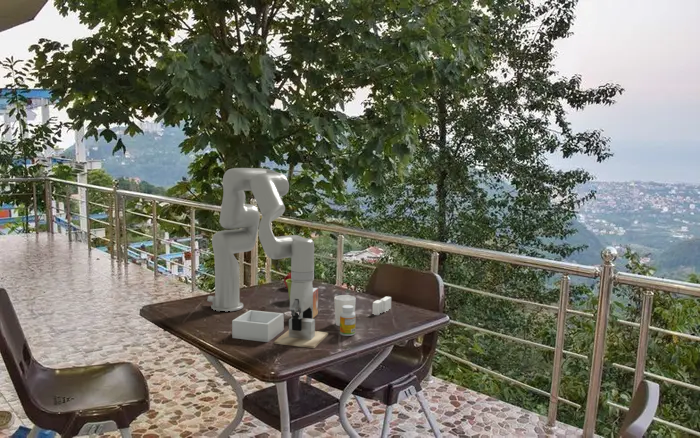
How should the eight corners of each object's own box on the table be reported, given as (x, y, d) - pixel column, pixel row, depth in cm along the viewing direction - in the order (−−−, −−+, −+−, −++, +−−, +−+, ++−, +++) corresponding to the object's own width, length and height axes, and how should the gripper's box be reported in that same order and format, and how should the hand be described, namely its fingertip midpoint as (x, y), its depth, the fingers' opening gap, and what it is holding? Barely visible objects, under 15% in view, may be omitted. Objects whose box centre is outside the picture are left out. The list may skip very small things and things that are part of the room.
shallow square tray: (232, 337, 171) (232, 320, 171) (250, 326, 184) (250, 310, 183) (267, 342, 168) (267, 324, 167) (283, 330, 180) (283, 313, 180)
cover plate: (274, 344, 167) (274, 323, 166) (290, 331, 180) (290, 311, 180) (314, 349, 163) (314, 327, 162) (328, 335, 176) (328, 315, 176)
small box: (312, 319, 193) (313, 292, 192) (298, 318, 194) (298, 291, 193) (318, 313, 201) (318, 287, 200) (304, 312, 202) (304, 286, 201)
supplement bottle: (339, 331, 180) (339, 304, 179) (354, 331, 180) (355, 304, 179) (340, 336, 175) (340, 308, 174) (355, 336, 175) (356, 308, 174)
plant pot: (295, 296, 226) (295, 277, 226) (311, 300, 221) (312, 280, 220) (281, 300, 219) (281, 280, 218) (297, 304, 213) (297, 284, 213)
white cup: (339, 328, 183) (340, 301, 182) (330, 322, 190) (330, 296, 189) (359, 325, 187) (359, 299, 185) (349, 319, 193) (349, 294, 192)
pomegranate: (307, 287, 245) (308, 268, 244) (300, 291, 236) (301, 271, 235) (288, 285, 247) (288, 266, 247) (280, 289, 238) (281, 270, 237)
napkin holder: (389, 307, 214) (389, 293, 213) (403, 314, 204) (404, 300, 203) (357, 311, 207) (357, 297, 206) (370, 318, 197) (371, 304, 196)
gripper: (301, 269, 179) (301, 317, 180) (281, 280, 162) (281, 332, 164) (321, 271, 176) (321, 319, 178) (303, 282, 160) (303, 335, 162)
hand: (302, 325), depth 171 cm, fingers open, 9 cm apart
